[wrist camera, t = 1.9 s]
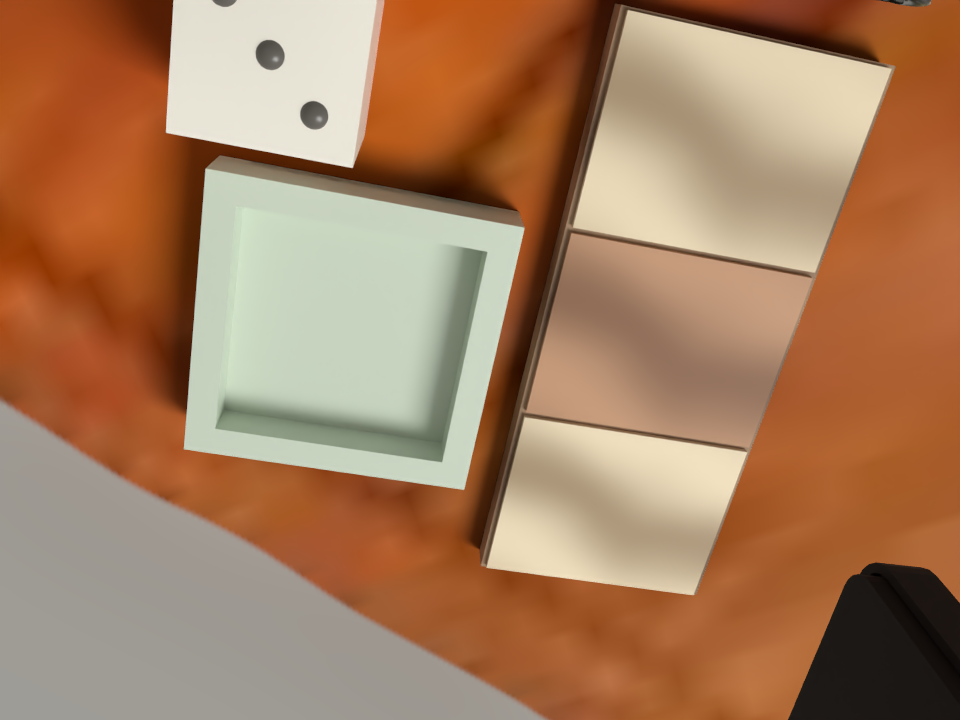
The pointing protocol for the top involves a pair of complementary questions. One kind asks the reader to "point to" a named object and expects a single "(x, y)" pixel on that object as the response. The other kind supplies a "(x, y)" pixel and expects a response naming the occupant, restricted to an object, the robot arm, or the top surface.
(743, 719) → the top surface
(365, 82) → the block
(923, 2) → the dark bronze flared dome
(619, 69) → the track
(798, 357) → the top surface
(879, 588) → the robot arm
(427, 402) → the tray
